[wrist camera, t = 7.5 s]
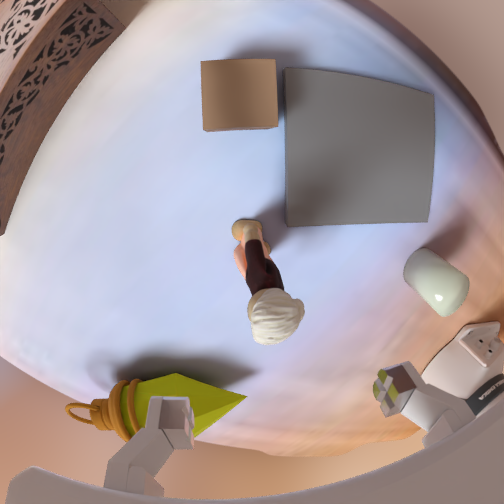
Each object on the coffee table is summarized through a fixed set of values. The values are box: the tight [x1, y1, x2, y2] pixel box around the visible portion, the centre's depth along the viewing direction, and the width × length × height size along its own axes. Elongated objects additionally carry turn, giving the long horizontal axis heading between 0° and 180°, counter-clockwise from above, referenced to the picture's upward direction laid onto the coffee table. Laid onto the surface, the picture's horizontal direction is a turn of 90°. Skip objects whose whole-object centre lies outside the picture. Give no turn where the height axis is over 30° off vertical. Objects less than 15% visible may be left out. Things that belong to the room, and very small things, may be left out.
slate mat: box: [283, 67, 435, 227], centre depth 22 cm, size 16×14×1 cm
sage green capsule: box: [403, 248, 469, 317], centre depth 26 cm, size 5×5×7 cm
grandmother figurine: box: [232, 220, 305, 345], centre depth 20 cm, size 8×4×13 cm, turn 29°
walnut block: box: [201, 59, 278, 132], centre depth 18 cm, size 5×5×5 cm
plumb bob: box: [65, 373, 247, 442], centre depth 28 cm, size 9×9×25 cm
